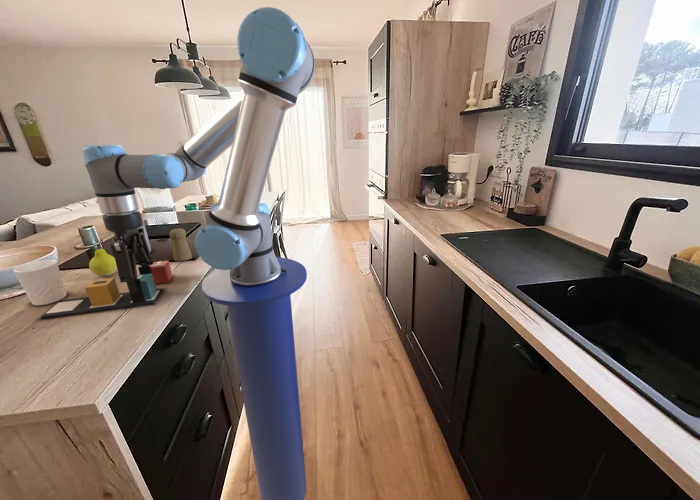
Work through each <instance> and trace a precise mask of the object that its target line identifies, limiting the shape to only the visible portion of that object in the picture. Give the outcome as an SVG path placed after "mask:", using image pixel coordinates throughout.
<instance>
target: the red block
mask: <svg viewBox="0 0 700 500" xmlns="http://www.w3.org/2000/svg"><path fill="white" fill-rule="evenodd" d="M170 264H171V263H170V260H169V259H168V260H160V261H159V260H158V261H153V265H149V266H150V267H151V271H152V275H153V278H154V282H155V285H160V284H167V283H170V282H171V281H170V280H171V279H172V278H173V272H172V269H171V265H170Z"/></svg>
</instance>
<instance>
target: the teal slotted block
mask: <svg viewBox="0 0 700 500" xmlns="http://www.w3.org/2000/svg"><path fill="white" fill-rule="evenodd" d="M137 278H140V281H141V285H142V288H143V291H144V295H145V298H146V299H152V298H153V296H154V295H155V293H156V292H157V290H156V289H157V286H156V284H155V282H154V279H153V275H152V274H144V275H140V274H137ZM126 286H127V287H128V285H127V284H126ZM131 299H132V298H131Z"/></svg>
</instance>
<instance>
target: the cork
mask: <svg viewBox="0 0 700 500" xmlns="http://www.w3.org/2000/svg"><path fill="white" fill-rule="evenodd" d="M168 236H169V238H170V239H171V241H172V255H173V261H174V262H184V261H189V260H191V259H192V258H193V254H192V251H191V249H190V247H189V243H188V241H187V238H186V237H187V231H186V230H185V229H184V228H173V229H171V230H170V231H169V234H168Z"/></svg>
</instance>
